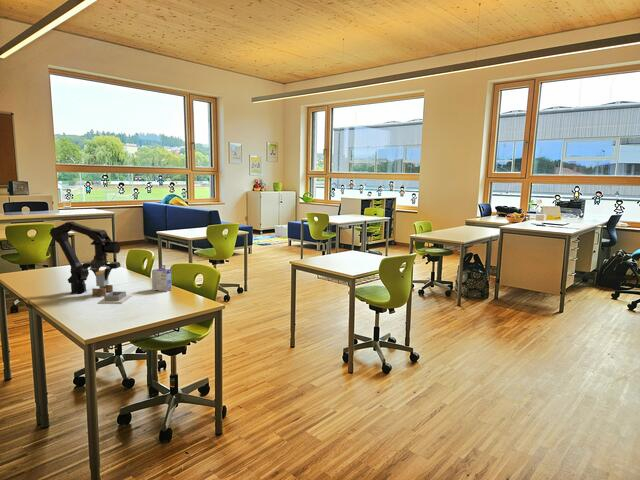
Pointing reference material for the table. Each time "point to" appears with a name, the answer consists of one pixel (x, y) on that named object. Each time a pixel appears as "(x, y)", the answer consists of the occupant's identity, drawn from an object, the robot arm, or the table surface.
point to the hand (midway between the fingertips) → (102, 280)
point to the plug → (101, 278)
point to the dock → (115, 298)
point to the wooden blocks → (102, 290)
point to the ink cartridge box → (161, 279)
